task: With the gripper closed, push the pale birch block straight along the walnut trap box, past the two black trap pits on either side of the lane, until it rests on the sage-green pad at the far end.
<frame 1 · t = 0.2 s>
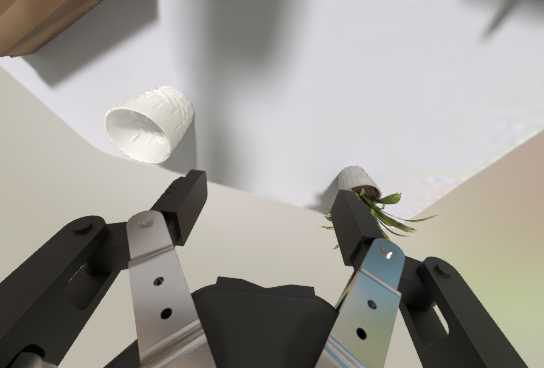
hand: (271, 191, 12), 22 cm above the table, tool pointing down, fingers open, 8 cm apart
white cup: (173, 107, 32), on the table
house plant: (353, 170, 38), on the table
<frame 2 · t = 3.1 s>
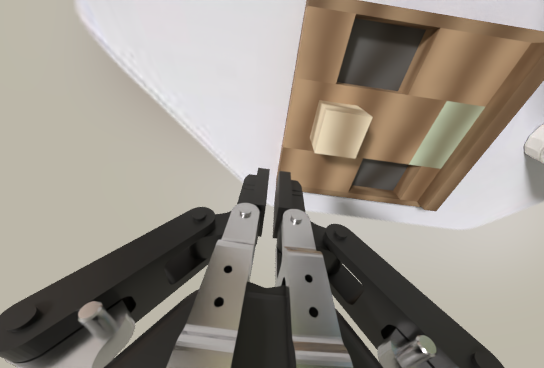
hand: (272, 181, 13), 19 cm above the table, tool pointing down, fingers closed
birch block: (332, 122, 26), point 3 cm above the table, touching trap box
trap box: (374, 122, 29), on the table
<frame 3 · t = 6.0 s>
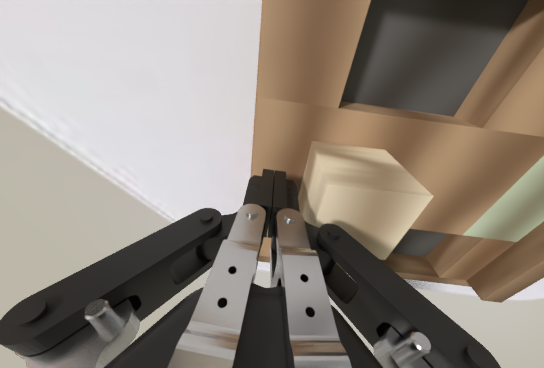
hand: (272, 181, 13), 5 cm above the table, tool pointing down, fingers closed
birch block: (337, 176, 14), point 3 cm above the table, touching gripper, trap box
trap box: (404, 165, 17), on the table
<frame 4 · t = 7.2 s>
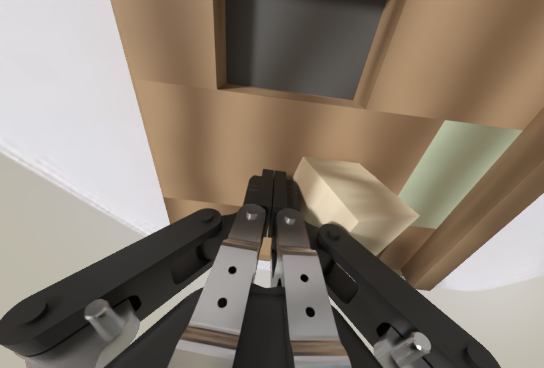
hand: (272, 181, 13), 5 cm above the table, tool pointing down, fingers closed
birch block: (316, 189, 14), point 4 cm above the table, tilted 25°, touching gripper, hand, trap box
trap box: (321, 152, 17), on the table
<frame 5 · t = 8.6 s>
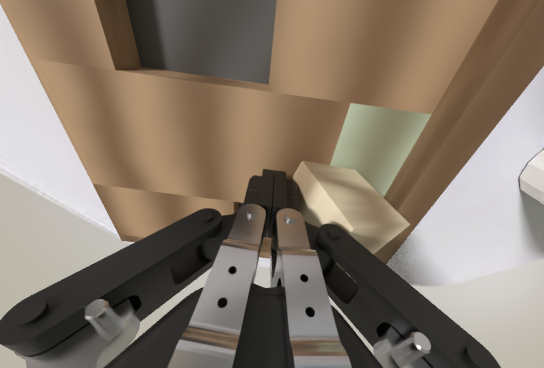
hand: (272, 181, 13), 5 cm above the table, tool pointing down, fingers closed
birch block: (312, 192, 14), point 4 cm above the table, tilted 25°, touching gripper, hand, trap box
trap box: (253, 140, 17), on the table
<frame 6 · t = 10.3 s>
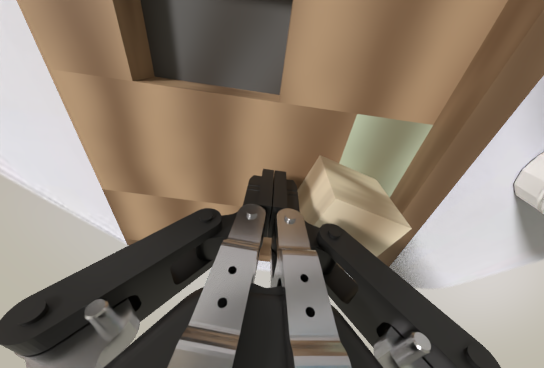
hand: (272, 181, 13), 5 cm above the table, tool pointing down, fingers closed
birch block: (330, 192, 16), point 3 cm above the table, touching trap box
trap box: (260, 147, 17), on the table
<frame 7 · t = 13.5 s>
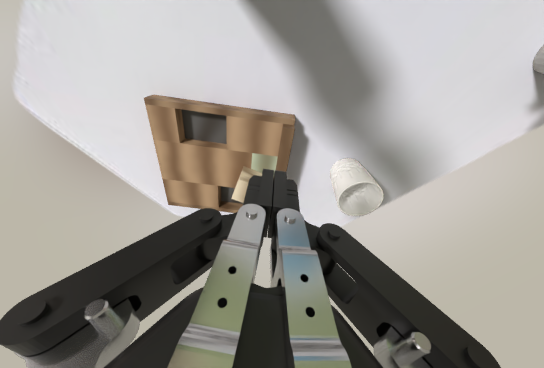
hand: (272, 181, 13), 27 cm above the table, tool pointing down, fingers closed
white cup: (345, 170, 43), on the table
birch block: (250, 179, 42), point 3 cm above the table, touching trap box
trap box: (225, 161, 43), on the table
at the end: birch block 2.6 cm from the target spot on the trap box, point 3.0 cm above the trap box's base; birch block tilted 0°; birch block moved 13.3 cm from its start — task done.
